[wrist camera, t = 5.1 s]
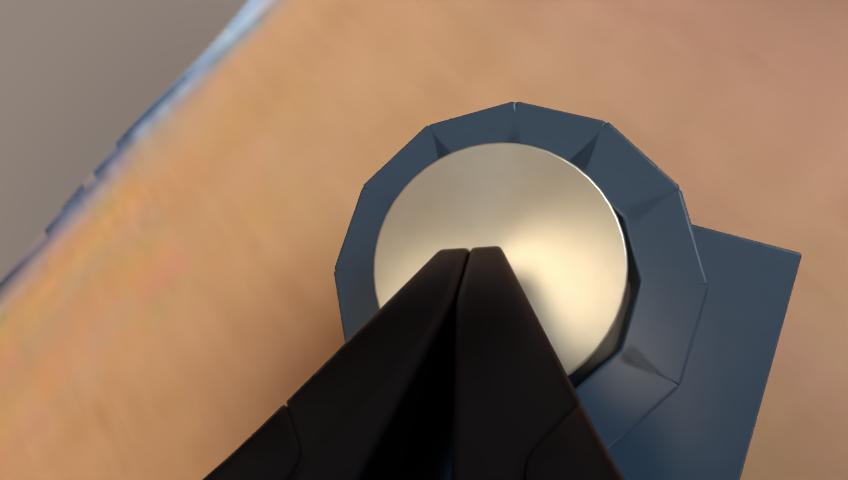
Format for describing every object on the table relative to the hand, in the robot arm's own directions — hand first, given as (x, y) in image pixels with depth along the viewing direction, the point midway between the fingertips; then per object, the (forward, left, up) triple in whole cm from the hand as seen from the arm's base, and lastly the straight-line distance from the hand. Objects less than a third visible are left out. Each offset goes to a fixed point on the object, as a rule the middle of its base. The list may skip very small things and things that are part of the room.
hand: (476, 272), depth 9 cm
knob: (0, 0, -4) cm, 4 cm away
